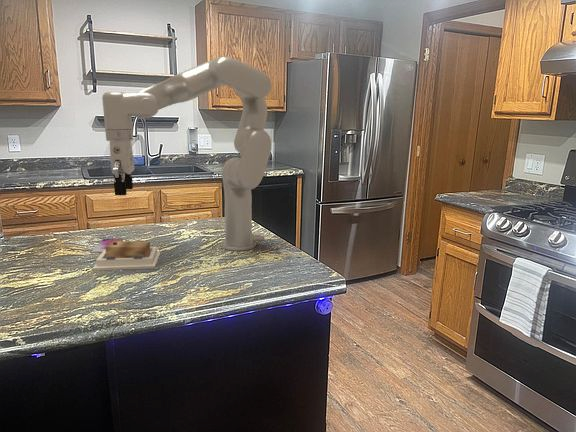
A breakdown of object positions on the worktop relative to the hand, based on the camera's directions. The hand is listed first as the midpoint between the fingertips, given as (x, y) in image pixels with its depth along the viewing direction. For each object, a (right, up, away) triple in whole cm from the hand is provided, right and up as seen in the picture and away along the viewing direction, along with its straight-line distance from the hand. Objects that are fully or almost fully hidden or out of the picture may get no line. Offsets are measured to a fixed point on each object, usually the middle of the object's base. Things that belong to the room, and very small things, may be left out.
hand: (124, 192), depth 131 cm
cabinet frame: (-1, -22, +5) cm, 23 cm away
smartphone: (-14, -19, +20) cm, 31 cm away
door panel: (0, -21, +5) cm, 22 cm away
